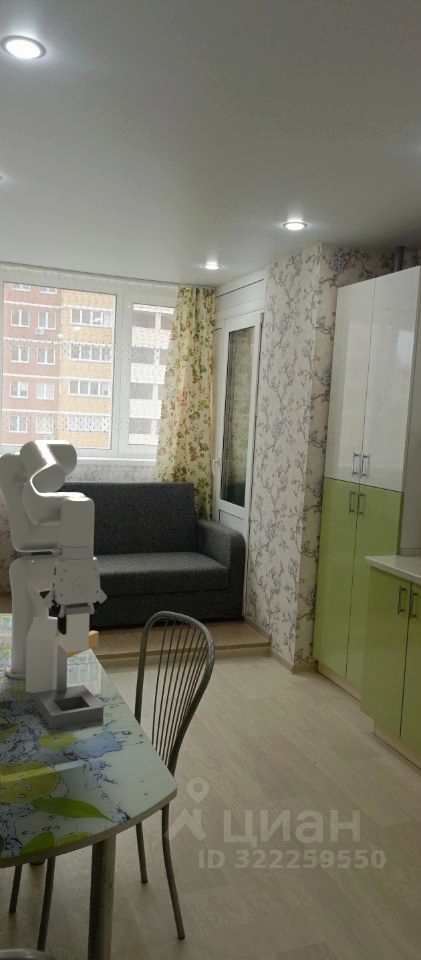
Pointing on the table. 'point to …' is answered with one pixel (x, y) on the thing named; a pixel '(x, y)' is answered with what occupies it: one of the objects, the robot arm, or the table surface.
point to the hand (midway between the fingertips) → (74, 630)
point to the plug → (76, 628)
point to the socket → (68, 706)
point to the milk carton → (42, 655)
